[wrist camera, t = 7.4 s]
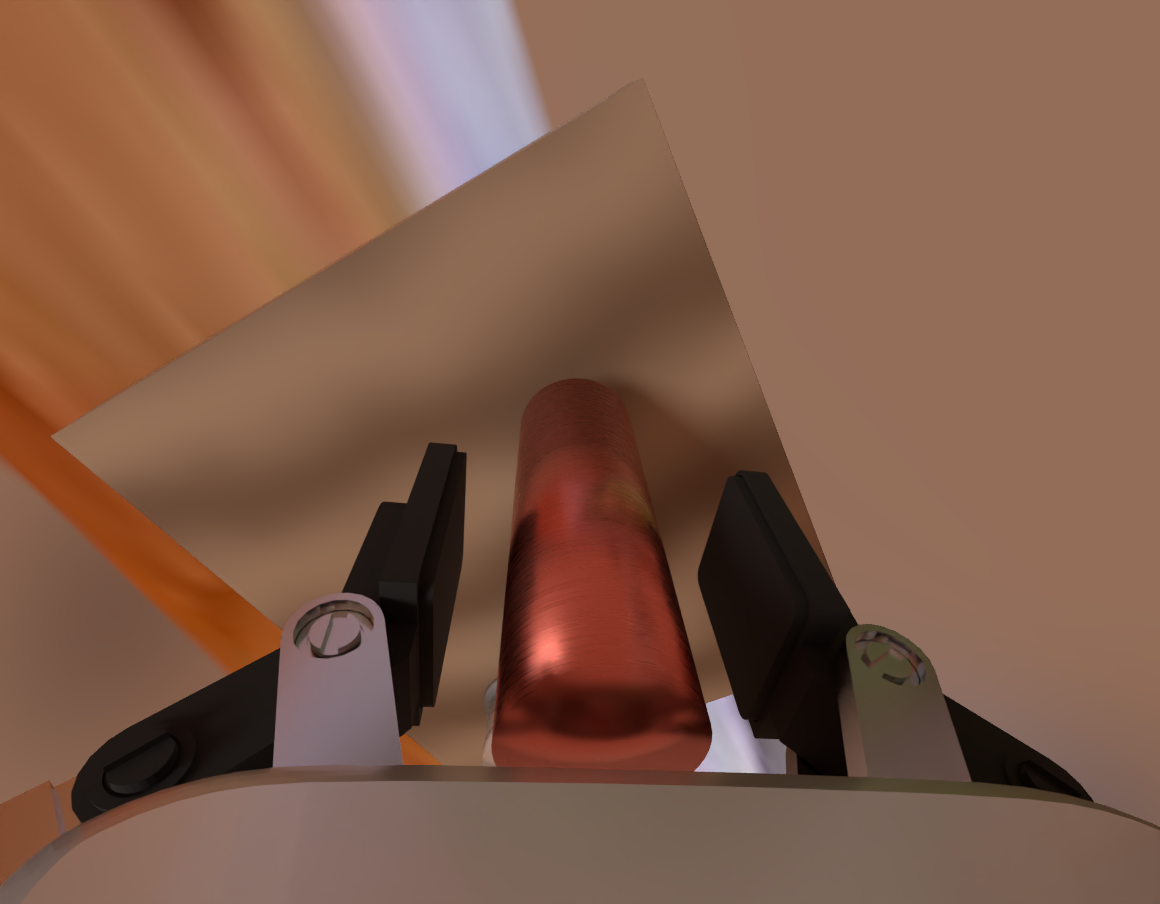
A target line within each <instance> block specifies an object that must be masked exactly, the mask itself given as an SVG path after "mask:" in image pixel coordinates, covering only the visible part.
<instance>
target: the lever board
mask: <svg viewBox="0 0 1160 904" xmlns="http://www.w3.org/2000/svg"><path fill="white" fill-rule="evenodd" d="M572 378H581V379H589V380H593V381H596V382H599V383H601V384H603V385H605V386H607V387H608V388H610V389H611V390H613V391H614V392H615V393H616V394H617V395H618V396H619V397H620V398H621V400H622V401H623V403H624V404H625V406H626V408H627V411H628V414H629V417H630V421H631V425H632V429H633V432H634V436H635V440H636V444H637V447H638V451H639V455H640V459H641V463H642V466H643V470H644V474H645V478H646V481H647V485H648V489H649V493H650V497H651V500H652V504H653V508H654V512H655V515H656V519H657V523H658V527H659V531H660V534H661V538H662V542H663V546H664V549H665V553H666V557H667V561H668V564H669V568H670V572H671V576H672V580H673V583H674V587H675V591H676V595H677V598H678V602H679V606H680V610H681V614H682V617H683V621H684V625H685V629H686V632H687V636H688V640H689V644H690V648H691V651H692V655H693V659H694V663H695V666H696V670H697V674H698V678H699V682H700V685H701V689H702V693H703V697H704V700H705V704H706V703H708V702H711V701H714V700H717V699H720V698H723V697H726V696H729V695H731V694H733V692H732V688H731V685H730V682H729V679H728V676H727V673H726V669H725V666H724V663H723V660H722V657H721V654H720V651H719V647H718V644H717V641H716V638H715V635H714V632H713V628H712V625H711V622H710V619H709V616H708V613H707V610H706V606H705V603H704V600H703V597H702V594H701V591H700V587H699V584H698V568H699V565H700V562H701V558H702V555H703V552H704V549H705V546H706V543H707V540H708V537H709V534H710V530H711V527H712V524H713V521H714V518H715V515H716V512H717V509H718V506H719V502H720V499H721V496H722V493H723V490H724V487H725V484H726V481H727V479H728V477H729V476H735V475H736V473H737V472H738V471H740V470H745V471H756V472H765V473H767V474H768V475H769V477H770V479H771V480H772V482H773V484H774V485H775V487H776V488H777V490H778V492H779V493H780V495H781V497H782V498H783V500H784V502H785V503H786V505H787V507H788V508H789V510H790V512H791V513H792V515H793V517H794V518H795V520H796V521H797V523H798V525H799V526H800V528H801V530H802V531H803V533H804V535H805V536H806V538H807V540H808V541H809V543H810V545H811V546H812V548H813V550H814V551H815V553H816V554H817V556H818V558H819V559H820V561H821V563H822V564H823V566H824V568H825V569H826V571H827V573H828V574H829V576H830V578H831V579H832V581H833V583H834V580H833V577H832V574H831V572H830V569H829V567H828V564H827V561H826V559H825V556H824V553H823V551H822V548H821V546H820V543H819V540H818V538H817V535H816V532H815V530H814V527H813V525H812V522H811V519H810V517H809V514H808V511H807V509H806V506H805V503H804V501H803V498H802V496H801V493H800V490H799V488H798V485H797V483H796V480H795V477H794V474H793V472H792V469H791V467H790V464H789V461H788V459H787V456H786V454H785V451H784V448H783V446H782V443H781V440H780V438H779V435H778V432H777V430H776V427H775V424H774V422H773V419H772V417H771V414H770V411H769V409H768V406H767V404H766V401H765V398H764V395H763V393H762V390H761V388H760V385H759V383H758V380H757V377H756V374H755V372H754V369H753V367H752V364H751V362H750V359H749V356H748V353H747V351H746V348H745V345H744V343H743V340H742V338H741V335H740V332H739V330H738V327H737V324H736V322H735V319H734V317H733V314H732V311H731V309H730V306H729V303H728V301H727V298H726V295H725V293H724V290H723V288H722V285H721V283H720V280H719V277H718V274H717V272H716V269H715V266H714V264H713V261H712V259H711V256H710V253H709V251H708V248H707V246H706V243H705V240H704V238H703V235H702V232H701V230H700V227H699V224H698V222H697V219H696V216H695V214H694V211H693V209H692V206H691V203H690V201H689V198H688V195H687V193H686V190H685V188H684V185H683V182H682V180H681V177H680V174H679V172H678V169H677V166H676V164H675V161H674V159H673V156H672V153H671V151H670V148H669V145H668V143H667V140H666V138H665V135H664V132H663V130H662V127H661V124H660V122H659V119H658V117H657V114H656V111H655V109H654V106H653V103H652V101H651V98H650V95H649V93H648V90H647V88H646V85H645V83H644V80H643V78H642V79H639V80H636V81H634V82H631V83H630V84H628V85H626V86H625V87H623V88H621V89H620V90H618V91H616V92H615V93H613V94H612V95H610V96H608V97H607V98H605V99H603V100H602V101H600V102H598V103H597V104H595V105H593V106H592V107H590V108H588V109H587V110H585V111H583V112H582V113H580V114H579V115H577V116H575V117H574V118H572V119H570V120H569V121H567V122H565V123H564V124H562V125H560V126H559V127H557V128H555V129H554V130H552V131H550V132H549V133H547V134H545V135H544V136H542V137H540V138H539V139H537V140H536V141H534V142H532V143H531V144H529V145H527V146H526V147H524V148H522V149H521V150H519V151H517V152H516V153H514V154H512V155H511V156H509V157H507V158H506V159H504V160H502V161H501V162H499V163H498V164H496V165H494V166H493V167H491V168H489V169H488V170H486V171H484V172H483V173H481V174H479V175H478V176H476V177H474V178H473V179H471V180H469V181H468V182H466V183H465V184H463V185H461V186H460V187H458V188H456V189H455V190H453V191H451V192H450V193H448V194H446V195H445V196H443V197H441V198H440V199H438V200H436V201H435V202H433V203H432V204H430V205H428V206H427V207H425V208H423V209H422V210H420V211H418V212H417V213H415V214H413V215H412V216H410V217H408V218H407V219H405V220H403V221H402V222H400V223H399V224H397V225H395V226H394V227H392V228H390V229H389V230H387V231H385V232H384V233H382V234H380V235H379V236H377V237H375V238H374V239H372V240H370V241H369V242H367V243H366V244H364V245H362V246H361V247H359V248H357V249H356V250H354V251H352V252H351V253H349V254H347V255H346V256H344V257H342V258H341V259H339V260H337V261H336V262H334V263H333V264H331V265H329V266H328V267H326V268H324V269H323V270H321V271H319V272H318V273H316V274H314V275H313V276H311V277H309V278H308V279H306V280H304V281H303V282H301V283H300V284H298V285H296V286H295V287H293V288H291V289H290V290H288V291H286V292H285V293H283V294H281V295H280V296H278V297H276V298H275V299H273V300H271V301H270V302H268V303H267V304H265V305H263V306H262V307H260V308H258V309H257V310H255V311H253V312H252V313H250V314H248V315H247V316H245V317H243V318H242V319H240V320H238V321H237V322H235V323H234V324H232V325H230V326H229V327H227V328H225V329H224V330H222V331H220V332H219V333H217V334H215V335H214V336H212V337H210V338H209V339H207V340H205V341H204V342H202V343H201V344H199V345H197V346H196V347H194V348H192V349H191V350H189V351H187V352H186V353H184V354H182V355H181V356H179V357H177V358H176V359H174V360H172V361H171V362H169V363H167V364H166V365H164V366H163V367H161V368H159V369H158V370H156V371H154V372H153V373H151V374H149V375H148V376H146V377H144V378H143V379H141V380H139V381H138V382H136V383H134V384H133V385H131V386H130V387H128V388H126V389H125V390H123V391H121V392H120V393H118V394H116V395H115V396H113V397H111V398H110V399H108V400H106V401H105V402H103V403H101V404H100V405H98V406H97V407H95V408H94V409H92V410H90V411H89V412H87V413H86V414H84V415H83V416H81V417H80V418H78V419H77V420H75V421H73V422H72V423H70V424H69V425H67V426H66V427H64V428H63V429H61V430H60V431H58V432H56V433H55V434H53V435H52V436H50V437H52V438H53V439H54V440H55V441H56V442H58V443H59V444H60V445H61V446H62V447H64V448H65V449H66V450H67V451H68V452H70V453H71V454H72V455H73V456H74V457H76V458H77V459H78V460H79V461H80V462H82V463H83V464H84V465H85V466H86V467H87V468H89V469H90V470H91V471H92V472H93V473H95V474H96V475H97V476H98V477H99V478H101V479H102V480H103V481H104V482H105V483H107V484H108V485H109V486H110V487H111V488H113V489H114V490H115V491H116V492H117V493H119V494H120V495H121V496H122V497H123V498H125V499H126V500H127V501H128V502H129V503H131V504H132V505H133V506H134V507H135V508H137V509H138V510H139V511H140V512H141V513H143V514H144V515H145V516H146V517H147V518H149V519H150V520H151V521H152V522H153V523H155V524H156V525H157V526H158V527H159V528H160V529H162V530H163V531H164V532H165V533H166V534H168V535H169V536H170V537H171V538H172V539H174V540H175V541H176V542H177V543H178V544H180V545H181V546H182V547H183V548H184V549H186V550H187V551H188V552H189V553H190V554H192V555H193V556H194V557H195V558H196V559H198V560H199V561H200V562H201V563H202V564H204V565H205V566H206V567H207V568H208V569H210V570H211V571H212V572H213V573H214V574H216V575H217V576H218V577H219V578H220V579H222V580H223V581H224V582H225V583H226V584H228V585H229V586H230V587H231V588H232V589H233V590H235V591H236V592H237V593H238V594H239V595H241V596H242V597H243V598H244V599H245V600H247V601H248V602H249V603H250V604H251V605H253V606H254V607H255V608H256V609H257V610H259V611H260V612H261V613H262V614H263V615H265V616H266V617H267V618H268V619H269V620H271V621H272V622H273V623H274V624H275V625H277V626H278V627H279V628H280V629H281V630H283V628H284V625H285V624H286V622H287V621H288V620H289V618H290V617H291V615H292V614H293V613H294V612H296V611H297V610H298V609H299V608H301V607H302V606H303V605H304V604H306V603H308V602H310V601H312V600H314V599H316V598H319V597H322V596H326V595H330V594H335V593H342V590H343V588H344V586H345V583H346V581H347V579H348V577H349V574H350V572H351V570H352V567H353V565H354V563H355V560H356V558H357V556H358V553H359V551H360V549H361V547H362V544H363V542H364V540H365V537H366V535H367V533H368V530H369V528H370V526H371V523H372V521H373V519H374V517H375V514H376V512H377V510H378V507H379V506H380V504H381V503H382V502H383V501H385V502H397V503H407V501H408V499H409V496H410V493H411V490H412V488H413V485H414V482H415V479H416V477H417V474H418V471H419V468H420V466H421V463H422V460H423V457H424V455H425V452H426V449H427V447H428V444H429V443H430V442H433V443H444V444H455V445H457V452H466V453H467V465H466V493H465V521H464V549H463V562H462V568H461V574H460V579H459V584H458V589H457V595H456V600H455V605H454V610H453V615H452V620H451V626H450V631H449V636H448V641H447V646H446V652H445V657H444V662H443V667H442V672H441V678H440V683H439V688H438V693H437V698H436V703H435V706H434V707H423V712H422V717H421V722H420V726H412V728H411V729H410V730H409V731H407V732H406V734H407V735H408V736H409V737H411V738H412V739H413V740H414V741H415V742H417V743H418V744H419V745H420V746H421V747H423V748H424V749H425V750H426V751H427V752H429V753H430V754H431V755H432V756H433V757H435V758H436V759H437V760H438V761H439V762H441V763H442V764H443V765H449V766H482V758H483V748H484V738H485V729H486V719H487V709H488V705H489V702H490V700H491V699H492V698H493V696H494V695H495V694H496V688H497V677H498V666H499V655H500V644H501V633H502V622H503V611H504V600H505V590H506V579H507V568H508V557H509V546H510V535H511V524H512V513H513V502H514V491H515V480H516V469H517V458H518V447H519V437H520V426H521V418H522V415H523V412H524V410H525V408H526V406H527V404H528V403H529V401H530V400H531V399H532V397H533V396H534V395H535V394H536V393H537V392H539V391H540V390H541V389H543V388H544V387H546V386H548V385H550V384H552V383H554V382H557V381H560V380H565V379H572ZM834 584H835V583H834ZM835 586H836V585H835Z"/></svg>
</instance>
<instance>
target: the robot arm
mask: <svg viewBox="0 0 1160 904" xmlns="http://www.w3.org/2000/svg"><path fill="white" fill-rule="evenodd" d="M466 465H467V453H466V452H457V445H455V444H444V443H433V442H430V443H429V444H428V447H427V449H426V452H425V455H424V457H423V460H422V463H421V466H420V468H419V471H418V474H417V477H416V479H415V482H414V485H413V488H412V490H411V493H410V496H409V499H408V501H407V503H397V502H385V501H383V502H382V503H381V504H380V506H379V507H378V510H377V512H376V514H375V517H374V519H373V521H372V523H371V526H370V528H369V530H368V533H367V535H366V537H365V540H364V542H363V544H362V547H361V549H360V551H359V553H358V556H357V558H356V560H355V563H354V565H353V567H352V570H351V572H350V574H349V577H348V579H347V581H346V583H345V586H344V588H343V590H342V593H335V594H330V595H326V596H322V597H319V598H316V599H314V600H312V601H310V602H308V603H306V604H304V605H303V606H302V607H301V608H299V609H298V610H297V611H296V612H294V613H293V614H292V615H291V617H290V618H289V620H288V621H287V622H286V624H285V625H284V628H283V632H282V636H281V645H280V648H279V649H277V650H275V651H274V652H272V653H270V654H268V655H266V656H264V657H262V658H260V659H258V660H256V661H254V662H253V663H251V664H249V665H247V666H245V667H243V668H241V669H239V670H237V671H235V672H233V673H232V674H230V675H228V676H226V677H224V678H222V679H220V680H218V681H216V682H214V683H213V684H211V685H209V686H207V687H205V688H203V689H201V690H199V691H197V692H196V693H194V694H192V695H190V696H188V697H186V698H184V699H182V700H180V701H178V702H176V703H174V704H173V705H171V706H169V707H167V708H165V709H163V710H161V711H159V712H157V713H155V714H153V715H151V716H150V717H148V718H146V719H144V720H142V721H140V722H138V723H136V724H134V725H132V726H130V727H129V728H127V729H125V730H124V731H122V732H121V733H119V734H117V735H116V736H115V737H113V738H111V739H110V740H108V741H107V742H106V743H105V744H104V745H103V746H101V748H99V749H98V750H97V751H96V752H95V753H94V754H93V755H92V756H91V757H90V758H89V759H88V761H87V762H86V764H85V765H84V766H83V768H82V769H81V771H80V772H79V773H78V775H77V776H76V777H74V778H72V779H70V780H68V781H66V782H64V783H62V784H60V785H58V786H56V787H53V785H52V784H51V782H50V781H47V782H45V783H43V784H41V785H39V786H37V787H35V788H33V789H31V790H28V791H26V792H24V793H22V794H20V795H18V796H16V797H14V798H12V799H10V800H8V801H6V802H4V803H2V804H0V904H1160V827H1159V826H1157V825H1155V824H1153V823H1150V822H1148V821H1145V820H1143V819H1140V818H1137V817H1135V816H1132V815H1130V814H1127V813H1124V812H1122V811H1119V810H1117V809H1114V808H1111V807H1108V806H1106V805H1102V804H1098V803H1094V801H1093V800H1092V798H1091V797H1090V796H1089V795H1088V793H1087V792H1086V791H1085V789H1084V788H1083V787H1082V786H1081V784H1079V783H1078V782H1077V781H1076V780H1075V779H1074V778H1073V777H1072V776H1071V775H1070V774H1069V773H1068V772H1067V771H1066V770H1064V769H1063V768H1061V767H1060V766H1059V765H1057V764H1056V763H1054V762H1053V761H1052V760H1050V759H1049V758H1047V757H1045V756H1044V755H1042V754H1040V753H1039V752H1037V751H1035V750H1034V749H1032V748H1030V747H1029V746H1027V745H1026V744H1024V743H1023V742H1021V741H1019V740H1018V739H1016V738H1014V737H1013V736H1011V735H1009V734H1008V733H1006V732H1004V731H1003V730H1001V729H1000V728H998V727H996V726H995V725H993V724H991V723H990V722H988V721H987V720H985V719H983V718H981V717H980V716H978V715H977V714H975V713H973V712H972V711H970V710H968V709H967V708H965V707H964V706H962V705H960V704H959V703H957V702H955V701H954V700H952V699H950V698H949V697H947V696H945V695H944V694H943V693H942V690H941V687H940V684H939V681H938V678H937V675H936V672H935V669H934V667H933V666H932V664H931V662H930V660H929V658H928V657H927V656H926V655H925V654H924V653H923V651H922V650H921V649H920V648H919V647H917V646H916V645H915V644H914V643H913V642H911V641H910V640H909V639H907V638H906V637H904V636H902V635H900V634H899V633H897V632H895V631H893V630H890V629H888V628H885V627H882V626H878V625H872V624H863V625H858V624H857V622H856V620H855V619H854V617H853V615H852V614H851V612H850V609H849V608H848V606H847V604H846V602H845V601H844V599H843V597H842V596H841V594H840V593H839V591H838V589H837V587H836V586H835V584H834V583H833V581H832V579H831V578H830V576H829V574H828V573H827V571H826V569H825V568H824V566H823V564H822V563H821V561H820V559H819V558H818V556H817V554H816V553H815V551H814V550H813V548H812V546H811V545H810V543H809V541H808V540H807V538H806V536H805V535H804V533H803V531H802V530H801V528H800V526H799V525H798V523H797V521H796V520H795V518H794V517H793V515H792V513H791V512H790V510H789V508H788V507H787V505H786V503H785V502H784V500H783V498H782V497H781V495H780V493H779V492H778V490H777V488H776V487H775V485H774V484H773V482H772V480H771V479H770V477H769V475H768V474H767V473H765V472H756V471H745V470H740V471H738V472H737V473H736V475H735V476H729V477H728V479H727V481H726V484H725V487H724V490H723V493H722V496H721V499H720V502H719V506H718V509H717V512H716V515H715V518H714V521H713V524H712V527H711V530H710V534H709V537H708V540H707V543H706V546H705V549H704V552H703V555H702V558H701V562H700V565H699V568H698V584H699V587H700V591H701V594H702V597H703V600H704V603H705V606H706V610H707V613H708V616H709V619H710V622H711V625H712V628H713V632H714V635H715V638H716V641H717V644H718V647H719V651H720V654H721V657H722V660H723V663H724V666H725V669H726V673H727V676H728V679H729V682H730V685H731V688H732V692H733V695H734V698H735V701H736V704H737V707H738V710H739V713H740V715H741V717H742V718H743V719H745V720H749V722H750V725H751V728H752V731H753V734H754V737H755V738H763V739H779V740H780V742H782V743H783V744H784V745H786V746H787V748H786V774H759V773H725V772H691V771H655V770H619V769H580V768H537V767H493V766H449V765H403V762H402V754H401V746H400V738H399V737H400V736H402V735H403V734H405V733H406V732H407V731H409V730H410V729H411V728H412V726H420V722H421V717H422V712H423V707H434V706H435V703H436V698H437V693H438V688H439V683H440V678H441V672H442V667H443V662H444V657H445V652H446V646H447V641H448V636H449V631H450V626H451V620H452V615H453V610H454V605H455V600H456V595H457V589H458V584H459V579H460V574H461V568H462V562H463V549H464V521H465V493H466Z"/></svg>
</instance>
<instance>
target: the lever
mask: <svg viewBox="0 0 1160 904" xmlns="http://www.w3.org/2000/svg"><path fill="white" fill-rule="evenodd" d="M711 742H712V729H711V723H710V719H709V716H708V712H707V708H706V704H705V700H704V697H703V693H702V689H701V685H700V682H699V678H698V674H697V670H696V666H695V663H694V659H693V655H692V651H691V648H690V644H689V640H688V636H687V632H686V629H685V625H684V621H683V617H682V614H681V610H680V606H679V602H678V598H677V595H676V591H675V587H674V583H673V580H672V576H671V572H670V568H669V564H668V561H667V557H666V553H665V549H664V546H663V542H662V538H661V534H660V531H659V527H658V523H657V519H656V515H655V512H654V508H653V504H652V500H651V497H650V493H649V489H648V485H647V481H646V478H645V474H644V470H643V466H642V463H641V459H640V455H639V451H638V447H637V444H636V440H635V436H634V432H633V429H632V425H631V421H630V417H629V414H628V411H627V408H626V406H625V404H624V403H623V401H622V400H621V398H620V397H619V396H618V395H617V394H616V393H615V392H614V391H613V390H611V389H610V388H608V387H607V386H605V385H603V384H601V383H599V382H596V381H593V380H589V379H581V378H572V379H565V380H560V381H557V382H554V383H552V384H550V385H548V386H546V387H544V388H543V389H541V390H540V391H539V392H537V393H536V394H535V395H534V396H533V397H532V399H531V400H530V401H529V403H528V404H527V406H526V408H525V410H524V412H523V415H522V418H521V426H520V437H519V447H518V458H517V469H516V480H515V491H514V502H513V513H512V524H511V535H510V546H509V557H508V568H507V579H506V590H505V600H504V611H503V622H502V633H501V644H500V655H499V666H498V677H497V688H496V694H495V695H494V696H493V698H492V699H491V700H490V702H489V705H488V709H487V719H486V729H485V738H484V748H483V758H482V766H493V767H537V768H580V769H619V770H655V771H691V772H693V771H694V770H695V769H696V768H697V767H698V766H699V765H700V764H701V763H702V761H703V760H704V759H705V757H706V755H707V753H708V751H709V748H710V745H711Z"/></svg>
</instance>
